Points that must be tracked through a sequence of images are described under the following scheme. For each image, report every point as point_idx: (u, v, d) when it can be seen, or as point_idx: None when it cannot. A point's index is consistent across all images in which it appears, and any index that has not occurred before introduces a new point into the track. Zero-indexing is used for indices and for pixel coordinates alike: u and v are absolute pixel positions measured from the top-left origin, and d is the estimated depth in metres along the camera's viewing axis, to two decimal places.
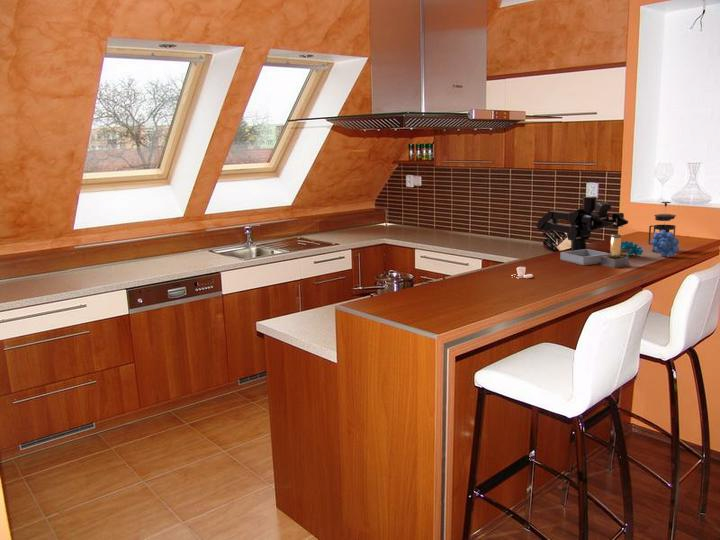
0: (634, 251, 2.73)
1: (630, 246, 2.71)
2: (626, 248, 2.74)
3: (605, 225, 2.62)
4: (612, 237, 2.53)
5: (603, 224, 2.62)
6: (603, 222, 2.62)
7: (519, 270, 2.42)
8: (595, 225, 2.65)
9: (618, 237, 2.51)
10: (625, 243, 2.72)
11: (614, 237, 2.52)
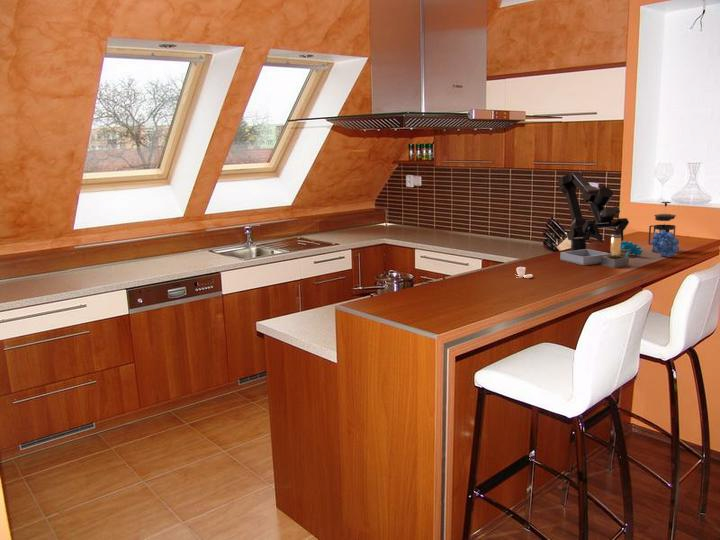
0: (634, 251, 2.72)
1: (630, 246, 2.71)
2: (626, 248, 2.74)
3: (597, 238, 2.58)
4: (612, 237, 2.53)
5: (596, 236, 2.58)
6: (597, 235, 2.57)
7: (519, 270, 2.42)
8: (590, 231, 2.60)
9: (618, 237, 2.51)
10: None
11: (614, 237, 2.52)
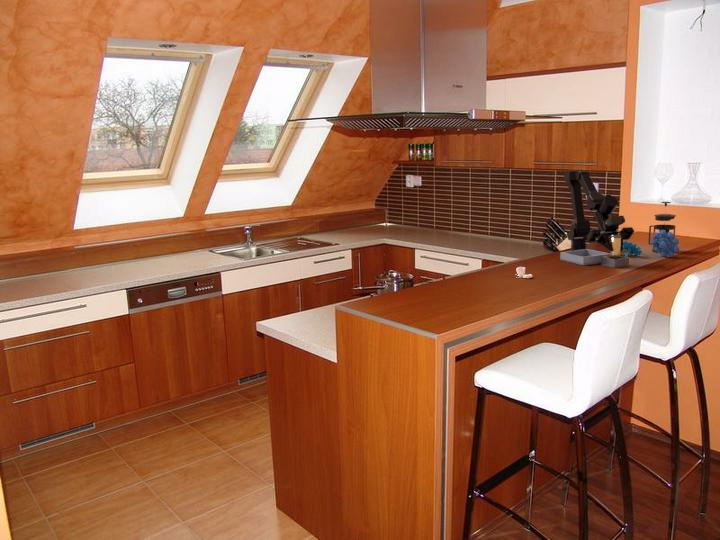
0: (633, 251, 2.72)
1: (629, 246, 2.71)
2: (625, 248, 2.74)
3: (607, 247, 2.55)
4: (612, 237, 2.53)
5: (606, 245, 2.55)
6: (607, 244, 2.54)
7: (519, 270, 2.42)
8: (600, 240, 2.57)
9: (618, 237, 2.51)
10: None
11: (614, 237, 2.52)
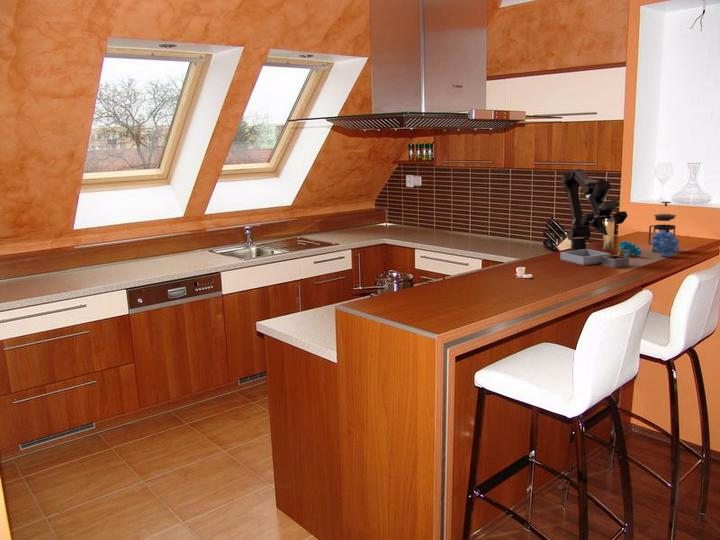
0: (633, 251, 2.72)
1: (628, 246, 2.71)
2: (625, 248, 2.74)
3: (601, 231, 2.56)
4: (606, 221, 2.54)
5: (600, 229, 2.57)
6: (601, 228, 2.56)
7: (519, 270, 2.41)
8: (594, 224, 2.59)
9: (612, 221, 2.53)
10: None
11: (608, 221, 2.53)
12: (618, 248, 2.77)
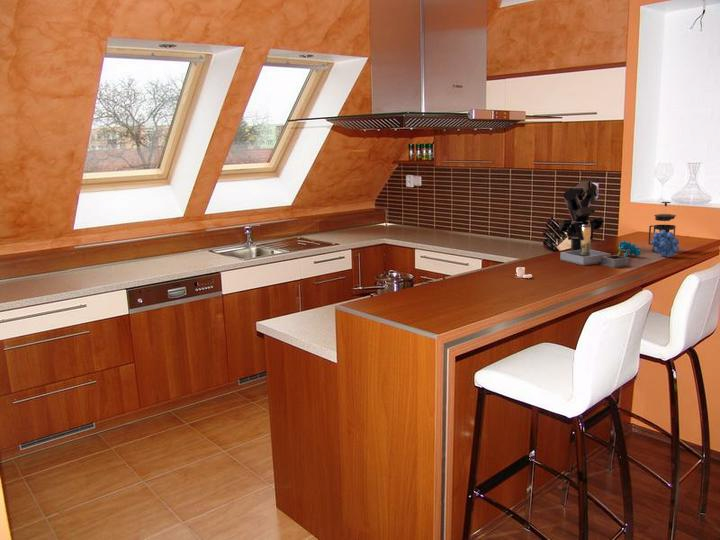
0: (633, 251, 2.72)
1: (628, 246, 2.71)
2: (625, 248, 2.74)
3: (578, 236, 2.66)
4: (582, 226, 2.64)
5: (577, 234, 2.67)
6: (578, 233, 2.66)
7: (518, 270, 2.41)
8: (571, 229, 2.69)
9: (588, 226, 2.63)
10: None
11: (585, 226, 2.63)
12: (618, 248, 2.77)
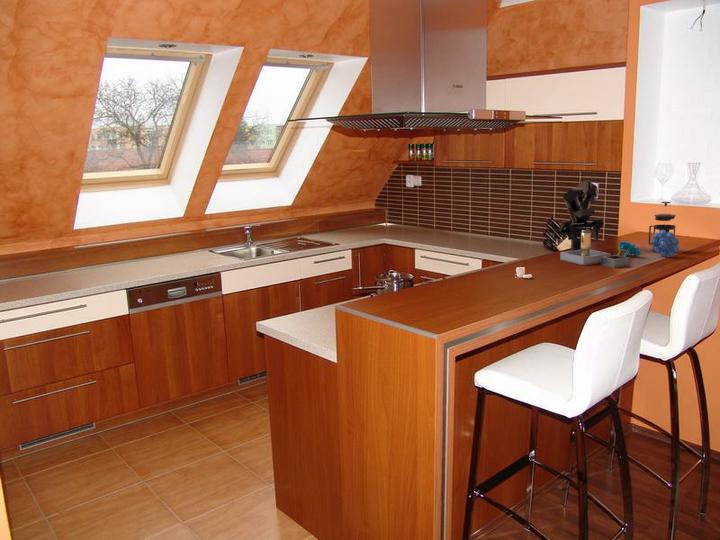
0: (632, 251, 2.72)
1: (628, 246, 2.71)
2: (625, 248, 2.74)
3: (573, 238, 2.66)
4: (582, 232, 2.65)
5: (572, 236, 2.66)
6: (572, 235, 2.66)
7: (518, 270, 2.41)
8: (566, 231, 2.69)
9: (588, 232, 2.64)
10: None
11: (584, 232, 2.64)
12: (618, 248, 2.77)
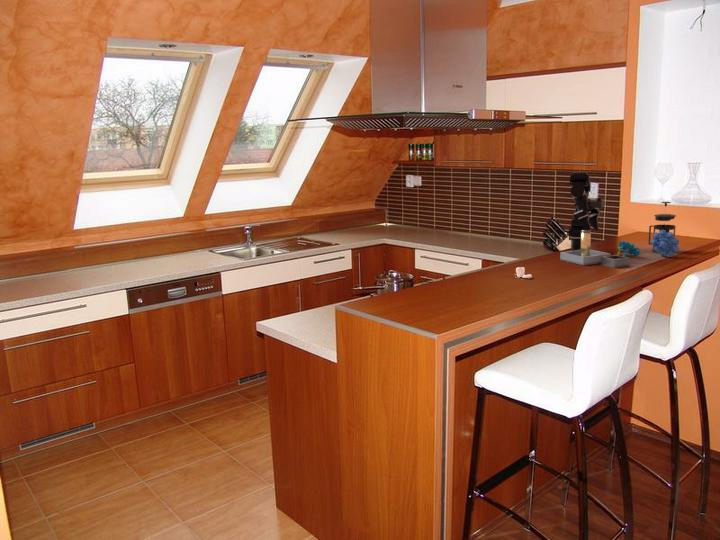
0: (632, 251, 2.72)
1: (627, 246, 2.71)
2: (624, 248, 2.74)
3: (586, 228, 2.69)
4: (582, 232, 2.65)
5: (585, 225, 2.68)
6: (587, 225, 2.68)
7: (518, 270, 2.41)
8: (580, 219, 2.68)
9: (588, 232, 2.64)
10: None
11: (584, 232, 2.64)
12: (618, 248, 2.77)
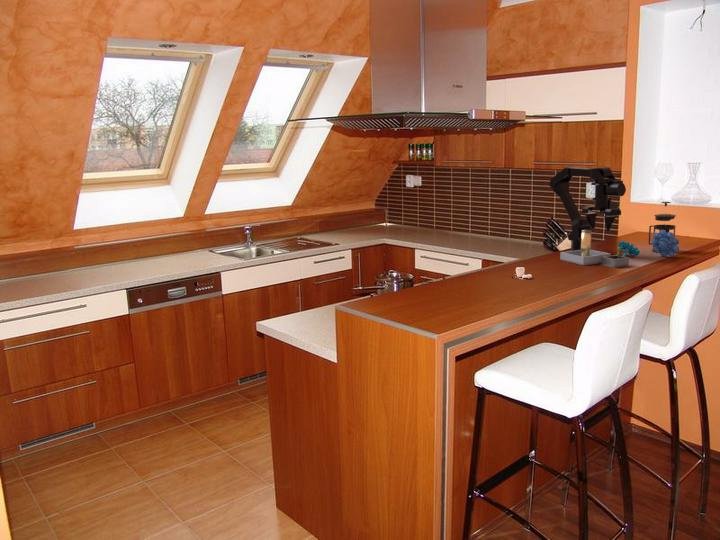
0: (632, 251, 2.72)
1: (627, 246, 2.71)
2: (624, 248, 2.74)
3: (608, 226, 2.69)
4: (582, 232, 2.65)
5: (609, 224, 2.69)
6: (610, 223, 2.69)
7: (518, 270, 2.41)
8: None
9: (588, 232, 2.63)
10: None
11: (585, 232, 2.64)
12: (617, 248, 2.77)
